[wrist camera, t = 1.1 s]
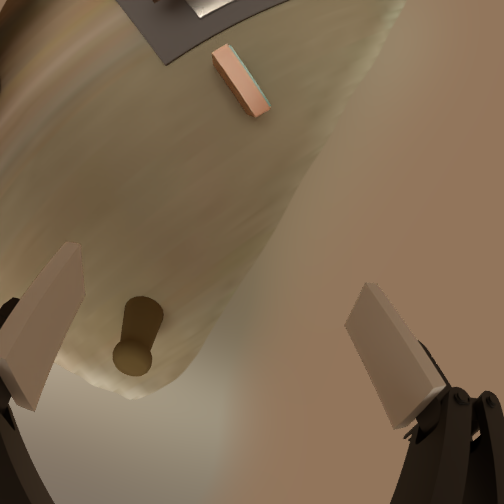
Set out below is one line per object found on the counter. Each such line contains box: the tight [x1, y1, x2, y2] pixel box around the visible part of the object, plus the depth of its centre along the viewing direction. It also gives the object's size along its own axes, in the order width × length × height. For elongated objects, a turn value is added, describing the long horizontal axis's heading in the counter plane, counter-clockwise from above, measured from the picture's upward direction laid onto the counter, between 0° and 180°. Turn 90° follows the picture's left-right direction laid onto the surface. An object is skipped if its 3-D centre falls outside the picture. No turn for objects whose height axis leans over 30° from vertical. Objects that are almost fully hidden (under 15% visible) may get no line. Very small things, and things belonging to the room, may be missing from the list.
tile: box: [212, 44, 271, 117], centre depth 25 cm, size 7×2×8 cm, turn 32°
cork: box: [113, 296, 164, 376], centre depth 37 cm, size 6×6×11 cm
